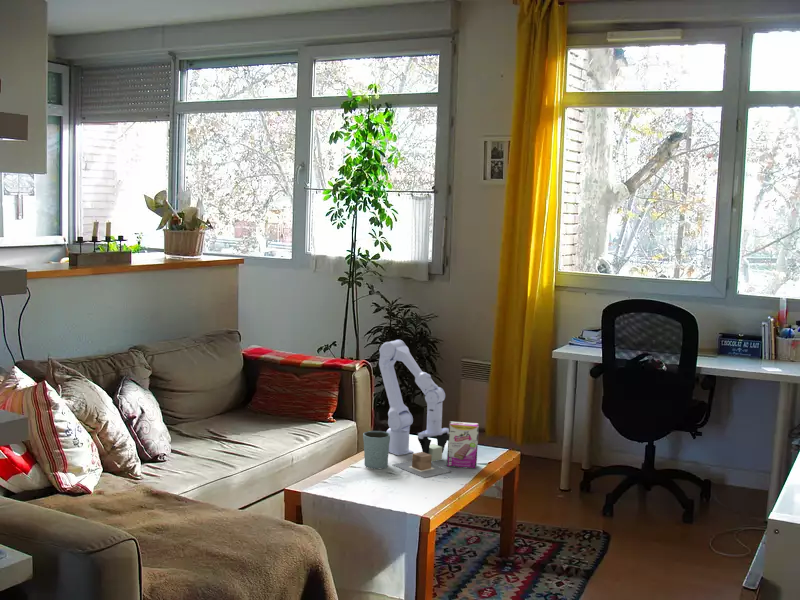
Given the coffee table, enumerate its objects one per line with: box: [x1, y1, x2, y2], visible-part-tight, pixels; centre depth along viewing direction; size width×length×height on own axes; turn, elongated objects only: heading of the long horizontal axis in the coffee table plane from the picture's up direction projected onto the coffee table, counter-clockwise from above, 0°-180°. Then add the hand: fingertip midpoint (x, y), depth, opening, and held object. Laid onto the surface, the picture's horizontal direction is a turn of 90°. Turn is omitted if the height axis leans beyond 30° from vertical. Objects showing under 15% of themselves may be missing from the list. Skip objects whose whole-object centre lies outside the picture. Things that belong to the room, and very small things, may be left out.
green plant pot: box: [362, 430, 390, 470], centre depth 317 cm, size 10×10×12 cm
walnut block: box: [411, 451, 432, 470], centre depth 315 cm, size 5×5×5 cm
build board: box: [392, 460, 452, 479], centre depth 315 cm, size 18×13×1 cm
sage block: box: [429, 443, 443, 462], centre depth 328 cm, size 5×5×5 cm
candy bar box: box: [446, 420, 480, 469], centre depth 320 cm, size 11×5×16 cm, turn 84°
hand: (433, 454), depth 328 cm, fingers open, 7 cm apart
